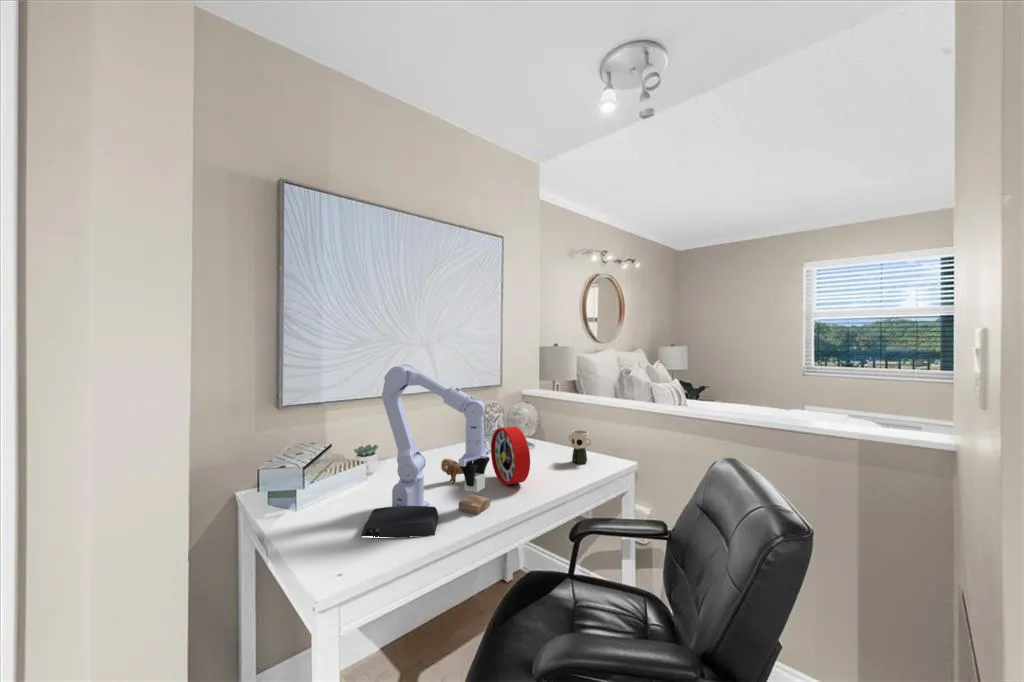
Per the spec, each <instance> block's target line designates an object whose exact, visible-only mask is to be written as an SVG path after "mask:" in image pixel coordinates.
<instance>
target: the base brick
mask: <svg viewBox="0 0 1024 682" xmlns="http://www.w3.org/2000/svg"><path fill="white" fill-rule="evenodd" d="M489 506H490V507H491V498H489V497H485V496H481V495H476V494H470V495H468V496H466V497H465V498H463V499H461V500H460V501H458V511H460V512H464V511H465V512H464V513H468V512H469V513H468V514H472V513H473V514H472V515H476V514H477V516H479V515H481V512H482V513H483V512H484V511H486V510H487V509H488V507H489ZM490 507H489V508H490ZM486 508H487V509H486ZM485 509H486V510H485ZM478 514H479V515H478Z"/></svg>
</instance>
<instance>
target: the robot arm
mask: <svg viewBox="0 0 1024 682" xmlns="http://www.w3.org/2000/svg"><path fill="white" fill-rule="evenodd" d="M383 378H384V384H383V388H382V392H381V399H382V402H383V406H384V409H385V412H386V416H387V419H388V421H389V425H390V429H391V433H392V435H393V438H394V442H395V445H396V447H397V451H398V452H397V457H396V462H397V475H398V477H399V479H398V482H396V484H394V485H393V487H392V491H391V493H392V494H391V502H392V503H391V505H392V506H429V505H430V502H429V501H426V500H425V499H424V497H425V494H424V493H425V491H424V488H425V486H424V485H425V484H424V483H425V482H424V479H425V478H424V477H425V475H424V473H423V469H425V467H426V458H425V456H424V455H423V454H422V453H421V451H420V448H419V446H417V445H416V444H415V441H414V437H413V434H412V431H411V427H410V424H409V421H408V417H407V415H406V412H405V411H406V410H405V407H404V405H403V401H402V398H401V397H402V394H403V393H404V391H405V389H406V388H407V387H408V386H420V387H422V388H424V389H426V390H429V391H430V392H432V393H434V394H435V395H438V396H440V397H441V398H442V399H443V403H444V404H445V405H448V406H449V407H450V408H452V409H454V410H456V411H457V412H460V413H461V414H463V416H464V417H465V452H464V454H462V456H461V457H460V458H459V459H458V463H459V466H460V468H461V469H462V471H463V473H464V474H463V475H464V481H465V480H466V484H467V486H471V487H473V486H474V480H475V473H480V474H485V471H486V468H487V465H488V464H489V462H490V457H489V456H488V455H490V447H485V423H484V422H485V417H484V413H485V412H486V405H485V403H484V402H483V400H481V399H480V398H476V397H475V396H473V395H469V394H468V393H466V392H464V391H462V388H461V387H459V386H457V387H455V386H450V387H447V386H446V385H444V384H442V383H441V382H439V381H437V380H436V379H434V378H433V377H431V376H430V375H428V374H427V373H426V372H424V371H422V370H421V369H419V368H416V367H413V366H412V365H410V364H406V363H405V364H402V365H398V366H397V365H396V366H393V367H391V368H390V369H389V370H388V371H387V373H386V374H385V376H384V377H383ZM392 506H391V507H392Z"/></svg>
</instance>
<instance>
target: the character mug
mask: <svg viewBox="0 0 1024 682" xmlns="http://www.w3.org/2000/svg"><path fill="white" fill-rule="evenodd" d="M568 442H570V444H571V447H572V448H573V450H572V458H571V461H572V462H573V463H575V462H576V461H577V462H576V464H585V463H587V462H588V457H587V448H588V447H590V446H591V445H592V438H591V437H589V431H587V430H584V429H583V430H582V429H574V430H572V431H571V433H569V434H568ZM591 447H592V446H591Z"/></svg>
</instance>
